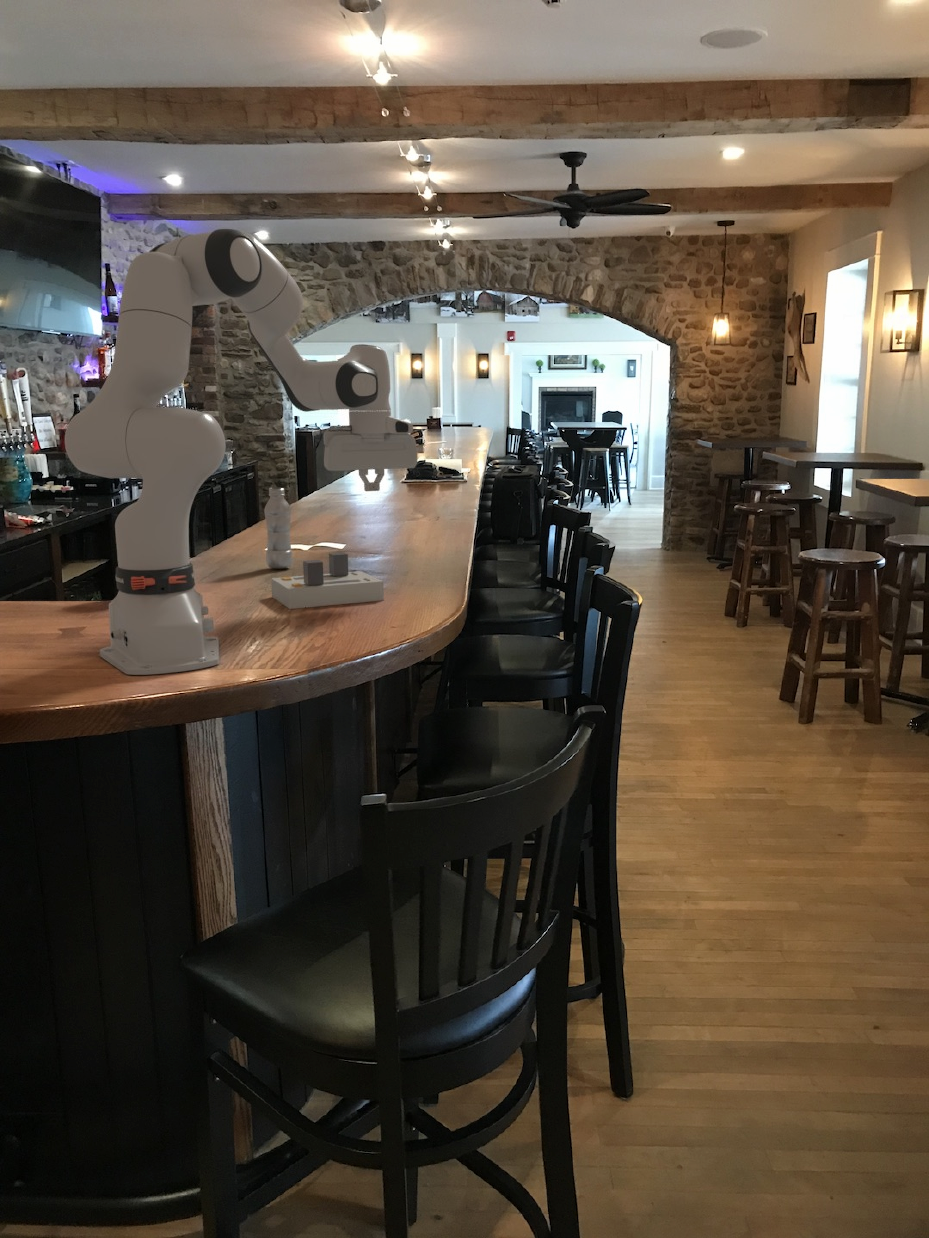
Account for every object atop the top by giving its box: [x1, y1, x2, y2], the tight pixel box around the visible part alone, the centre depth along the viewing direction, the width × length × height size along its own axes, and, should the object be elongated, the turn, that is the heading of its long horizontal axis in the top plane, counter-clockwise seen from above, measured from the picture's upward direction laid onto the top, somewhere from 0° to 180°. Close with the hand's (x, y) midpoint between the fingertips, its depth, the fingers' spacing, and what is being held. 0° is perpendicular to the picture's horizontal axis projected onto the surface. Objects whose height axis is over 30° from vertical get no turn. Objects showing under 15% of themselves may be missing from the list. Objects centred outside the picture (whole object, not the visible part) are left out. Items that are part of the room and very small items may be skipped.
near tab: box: [302, 559, 324, 585], centre depth 190 cm, size 3×3×4 cm
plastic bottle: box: [263, 487, 294, 570], centre depth 231 cm, size 6×7×20 cm
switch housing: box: [270, 570, 385, 610], centre depth 196 cm, size 14×20×4 cm
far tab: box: [328, 551, 349, 576], centre depth 200 cm, size 3×3×4 cm
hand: (372, 491), depth 200 cm, fingers closed
